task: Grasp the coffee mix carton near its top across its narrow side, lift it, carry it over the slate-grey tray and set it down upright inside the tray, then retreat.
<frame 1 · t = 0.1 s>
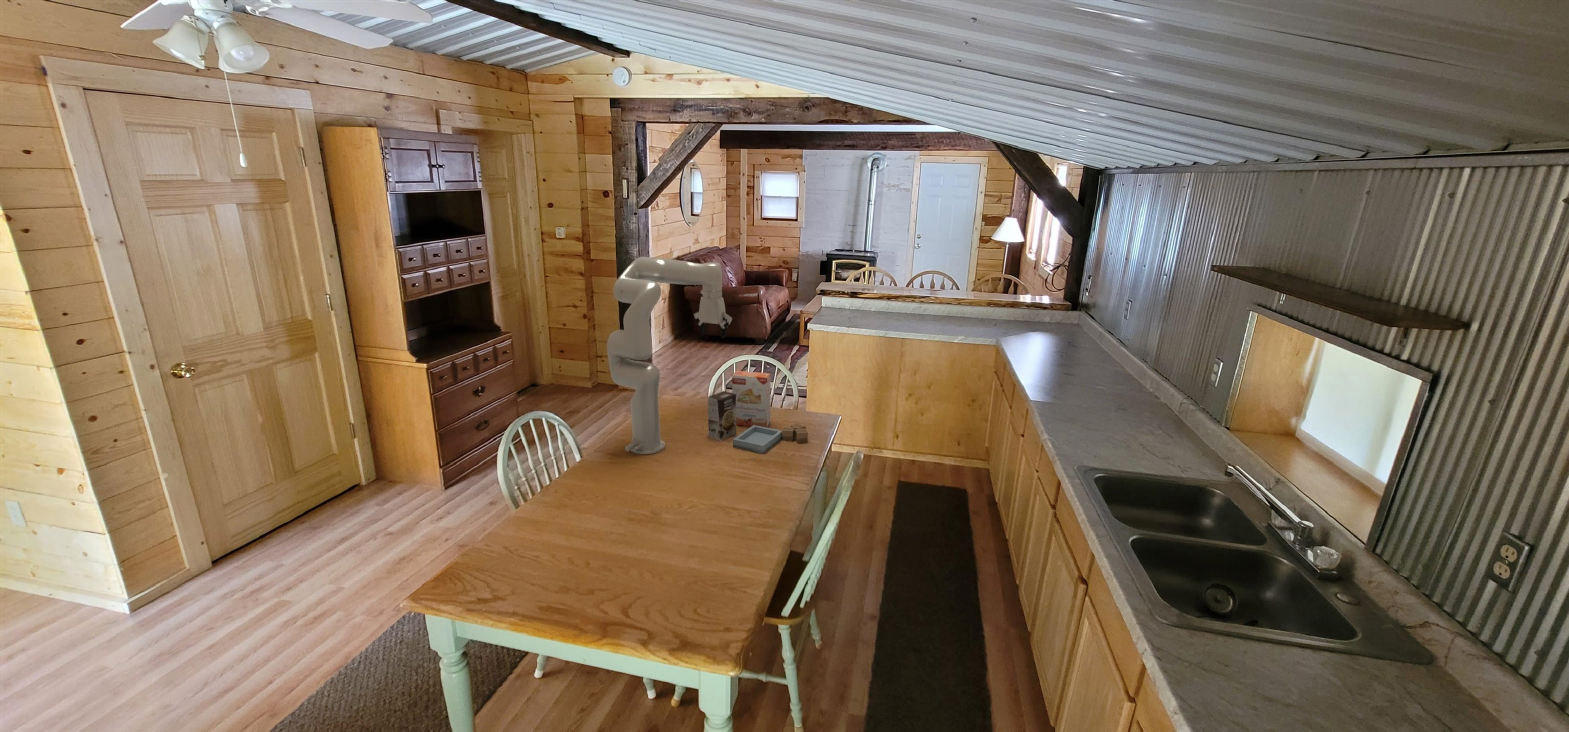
hand: (713, 336, 260), 31 cm above the table, fingers open, 9 cm apart
tray: (758, 442, 236), on the table
walnut block b: (798, 435, 243), on the table
coffee box: (722, 436, 242), on the table
walnut block c: (800, 440, 239), on the table
cracker box: (751, 424, 253), on the table
walnut block a: (788, 438, 240), on the table
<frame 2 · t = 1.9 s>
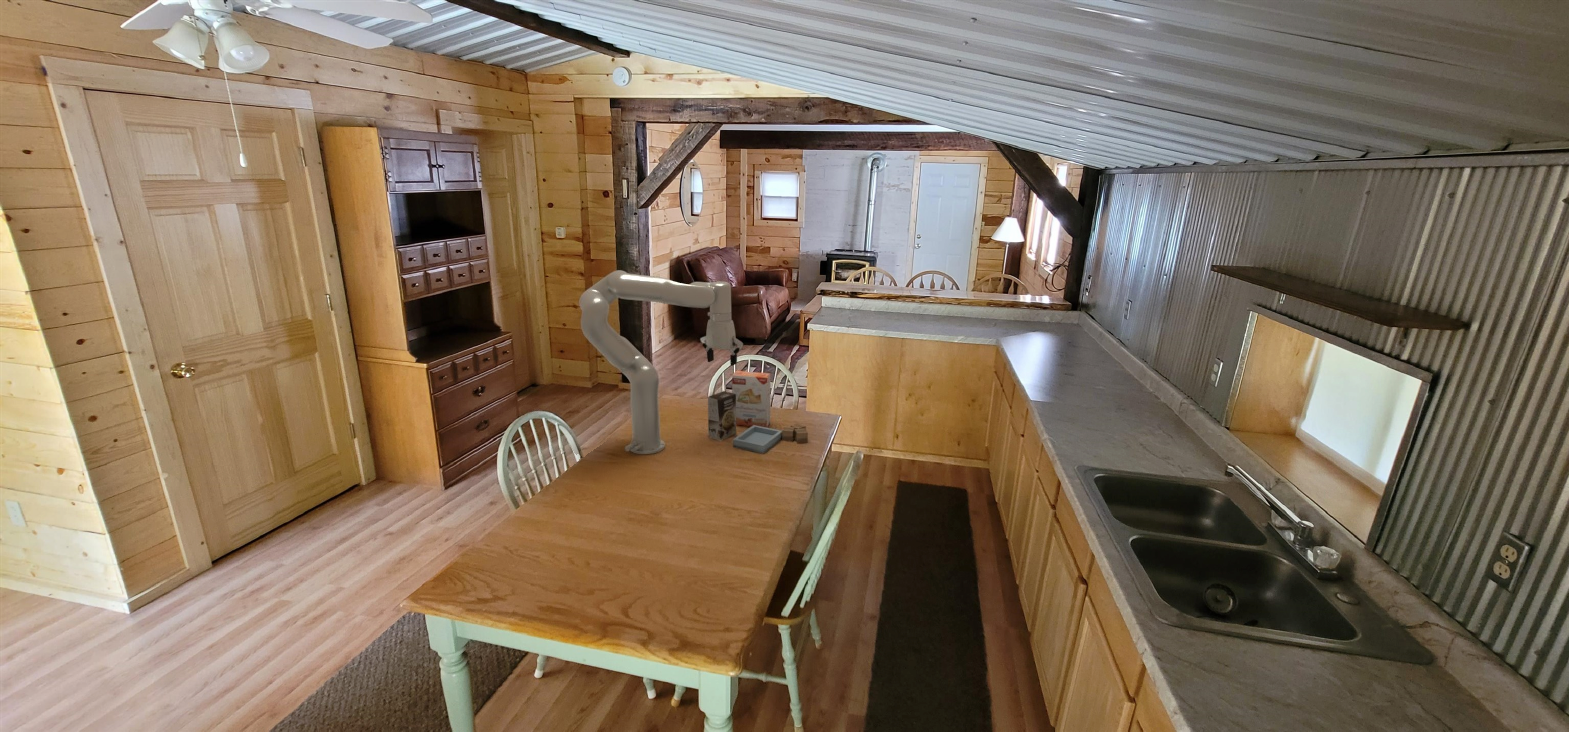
hand: (722, 362, 234), 28 cm above the table, fingers open, 9 cm apart
nothing on the table moved.
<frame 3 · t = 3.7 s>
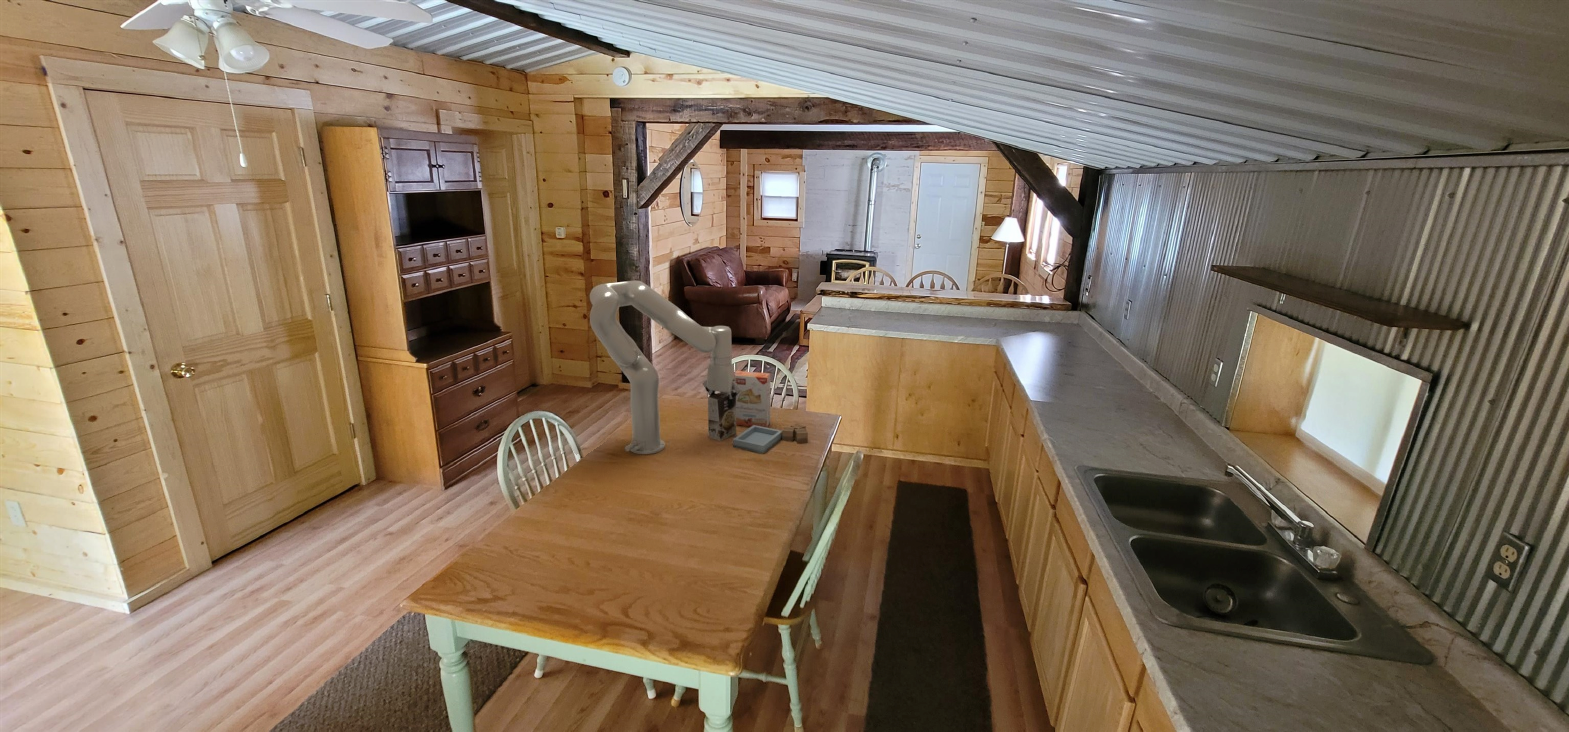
hand: (722, 405, 239), 12 cm above the table, fingers closed on coffee box, 7 cm apart
coffee box: (722, 436, 242), on the table, touching gripper
everything else where it was.
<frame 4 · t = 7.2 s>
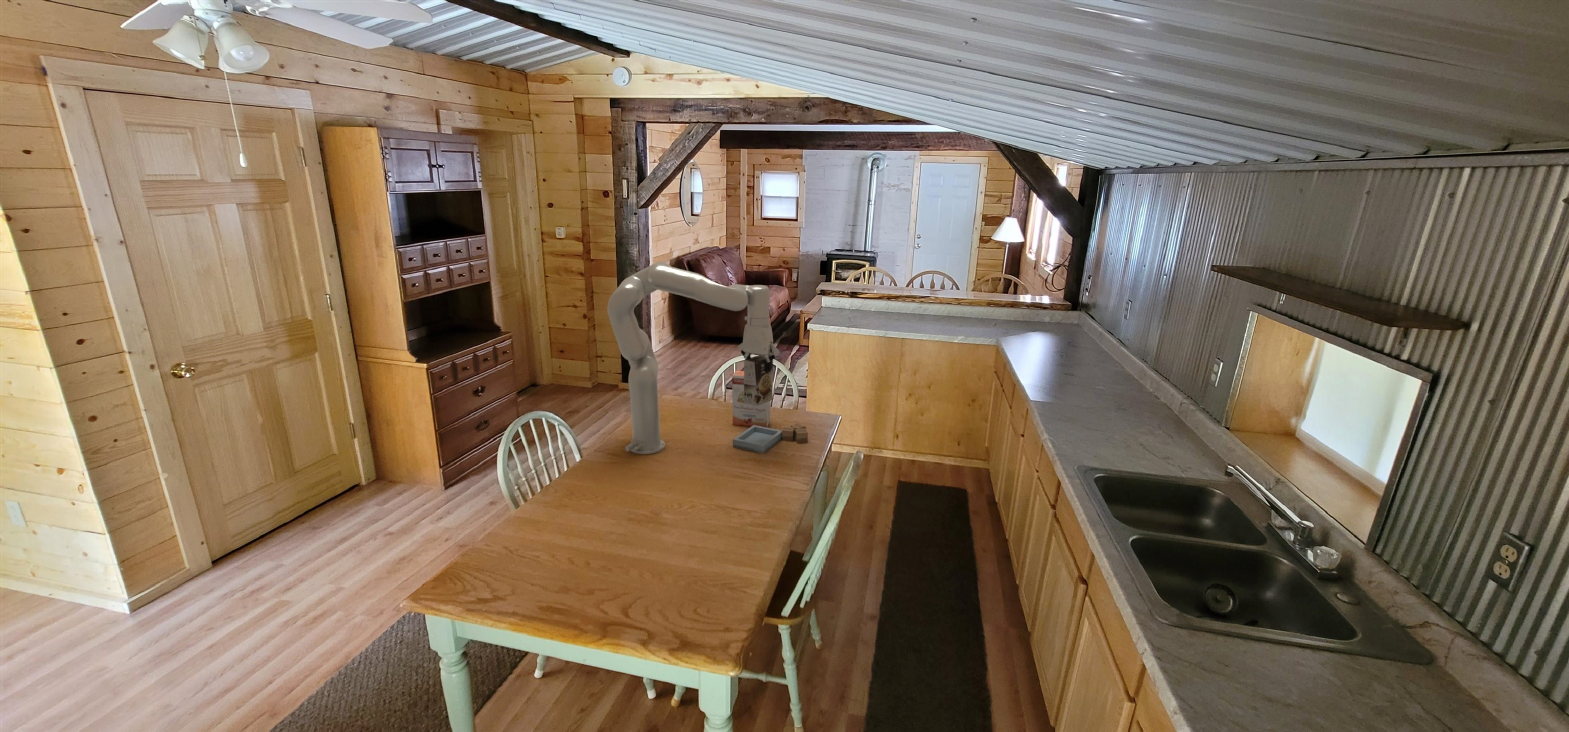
hand: (758, 370, 228), 28 cm above the table, fingers closed on coffee box, 7 cm apart
coffee box: (758, 401, 232), point 16 cm above the table, touching gripper
everything else where it was.
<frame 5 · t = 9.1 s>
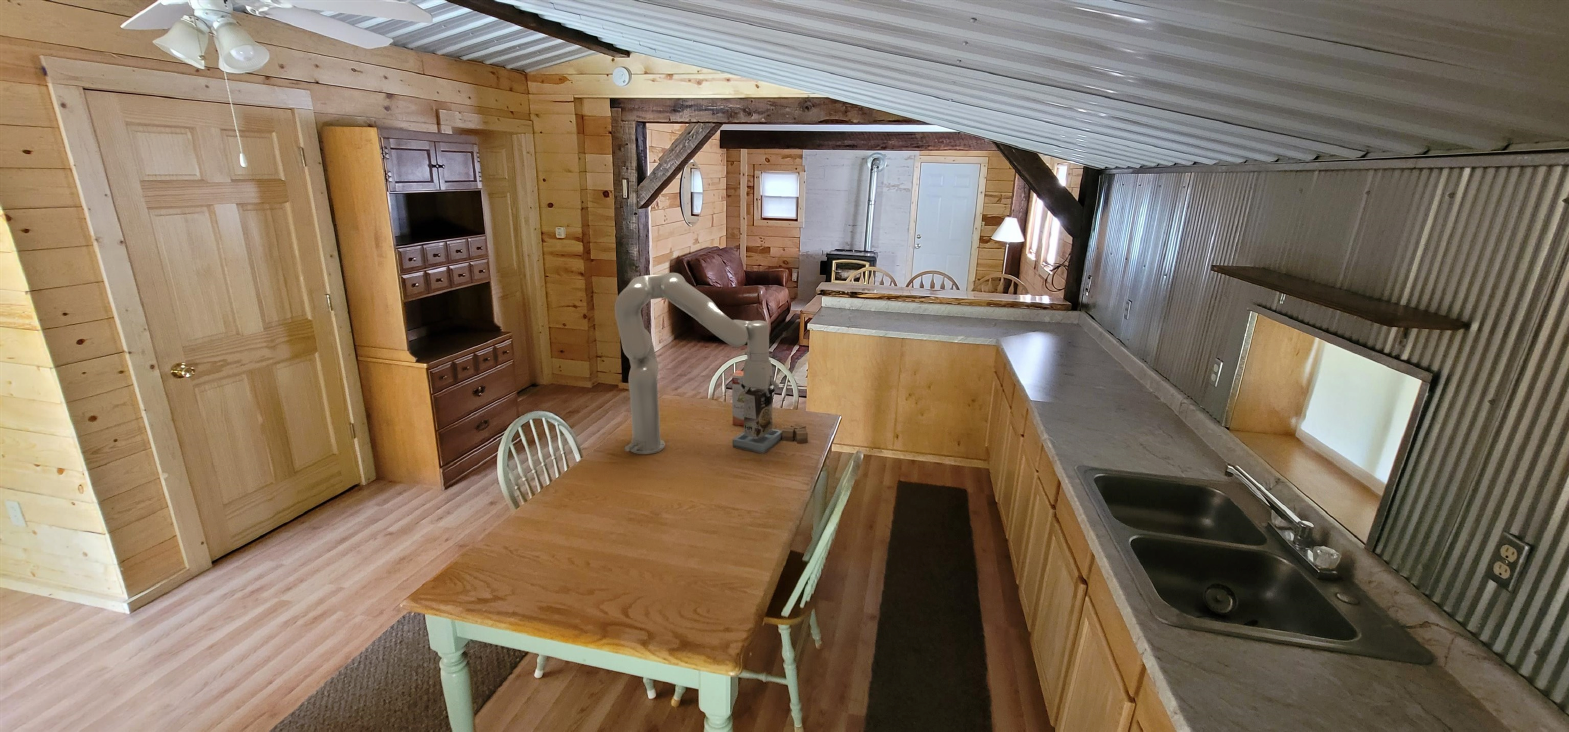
hand: (758, 403, 232), 15 cm above the table, fingers closed on coffee box, 7 cm apart
coffee box: (758, 434, 235), point 3 cm above the table, touching gripper
everything else where it was.
when the fingers open (14 cm above the table, at t = 10.8 s): coffee box stays where it is, resting on tray.
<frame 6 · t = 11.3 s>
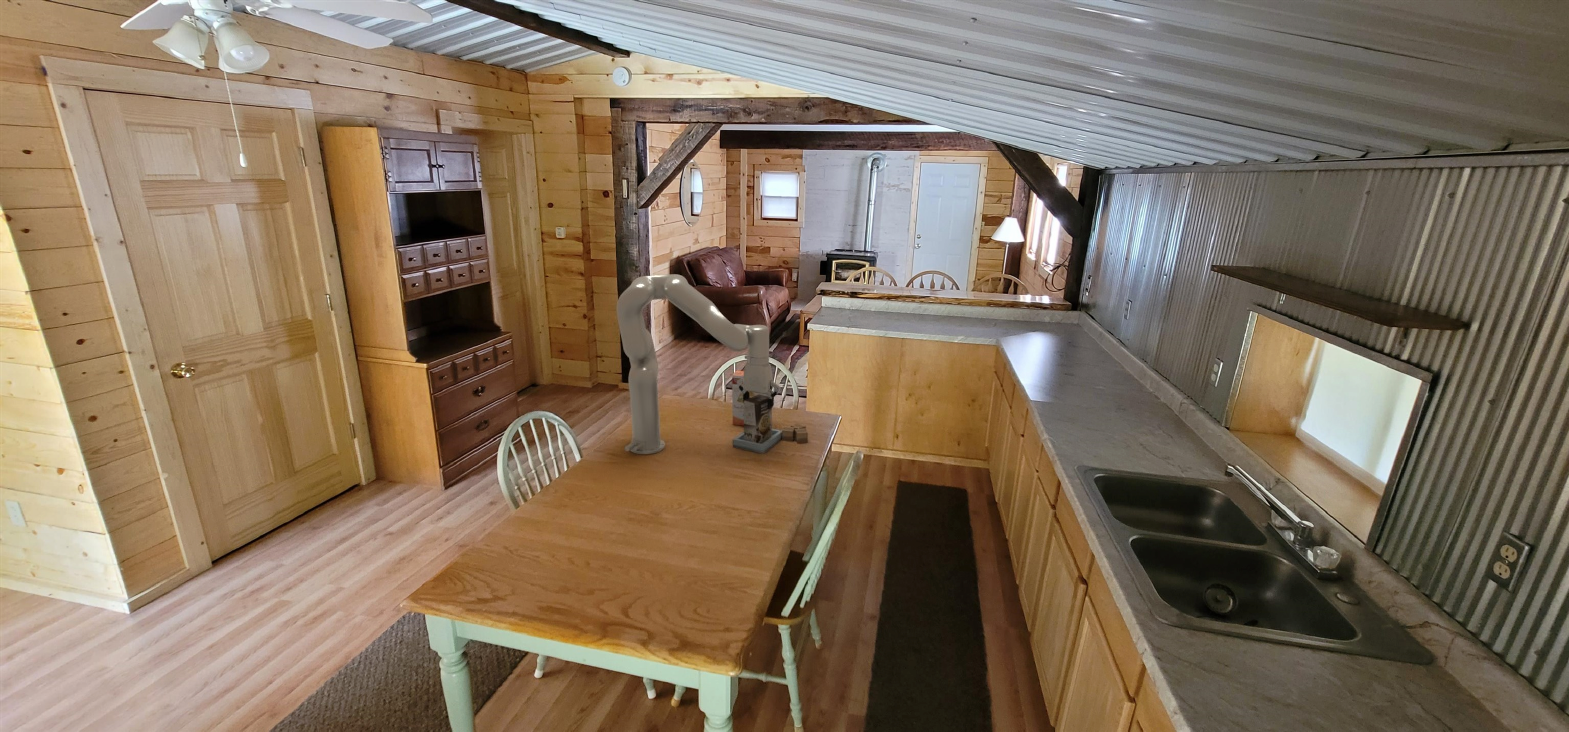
hand: (758, 405, 232), 14 cm above the table, fingers open, 9 cm apart
coffee box: (758, 440, 236), point 1 cm above the table, touching tray
everything else where it was.
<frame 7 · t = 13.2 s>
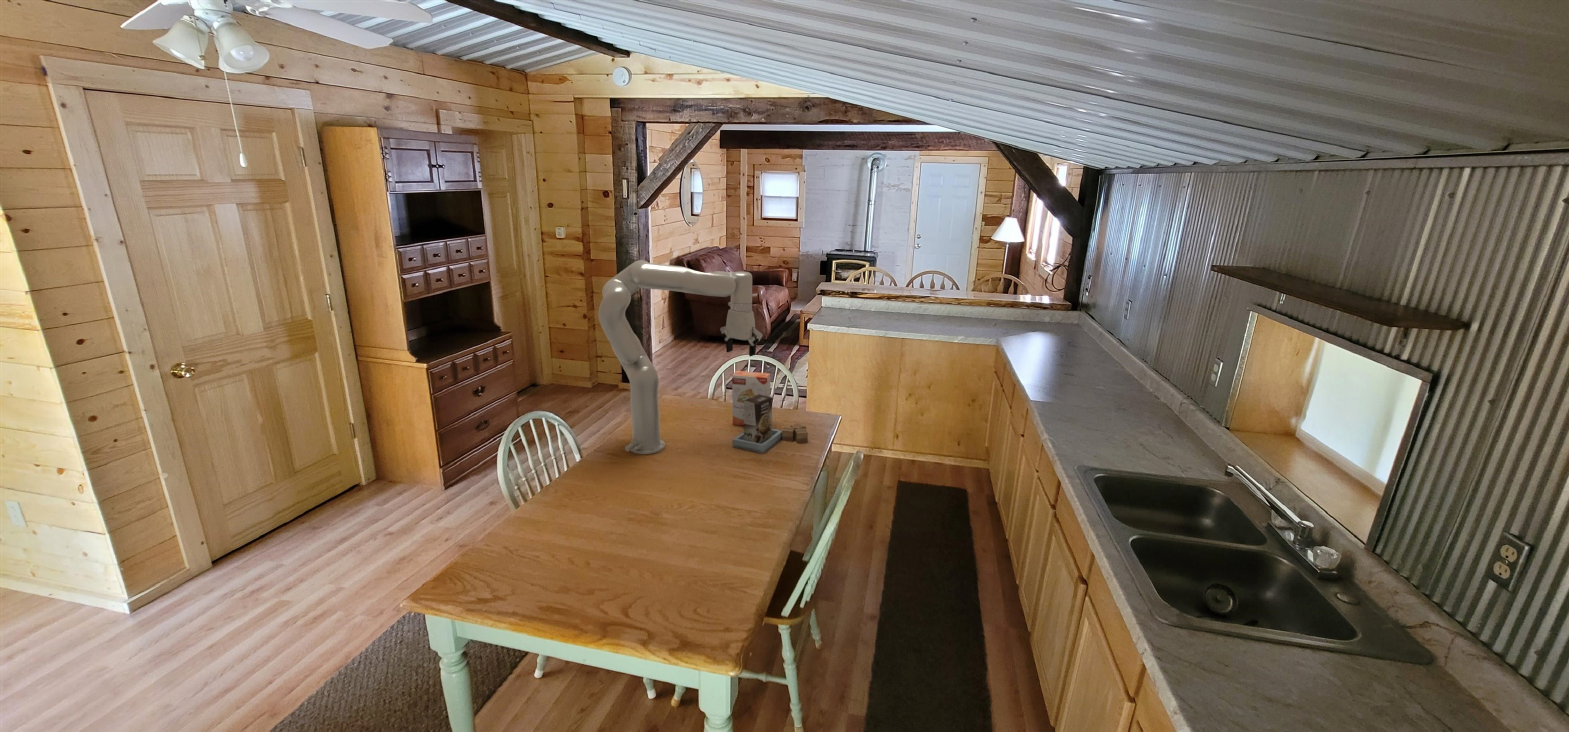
hand: (740, 353, 234), 32 cm above the table, fingers open, 9 cm apart
nothing on the table moved.
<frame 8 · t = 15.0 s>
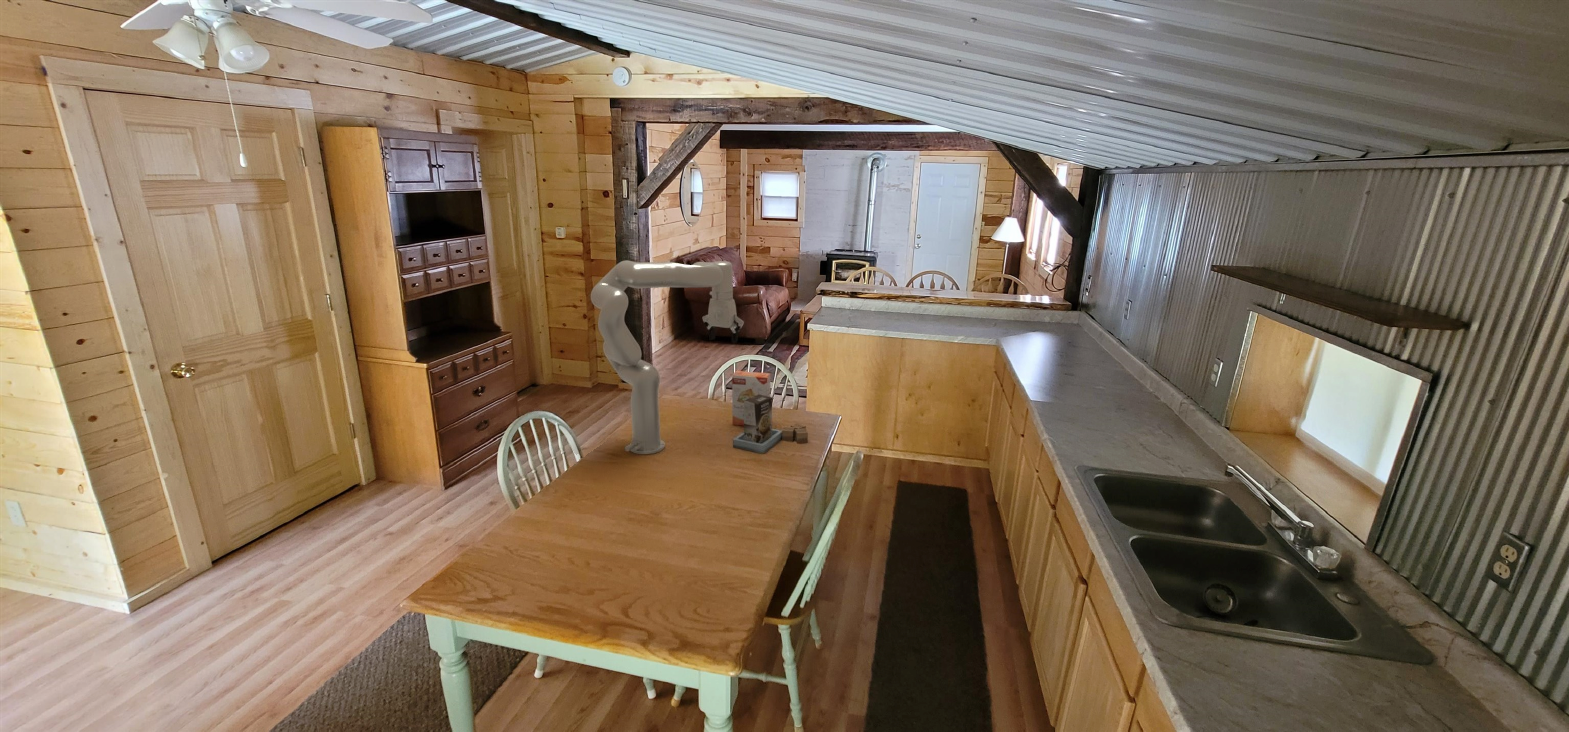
hand: (723, 341, 241), 34 cm above the table, fingers open, 9 cm apart
nothing on the table moved.
at the end: coffee box inside the target area on the tray (0.1 cm from its centre), point 0.8 cm above the tray's base; coffee box tilted 0°; the gripper is holding nothing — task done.
